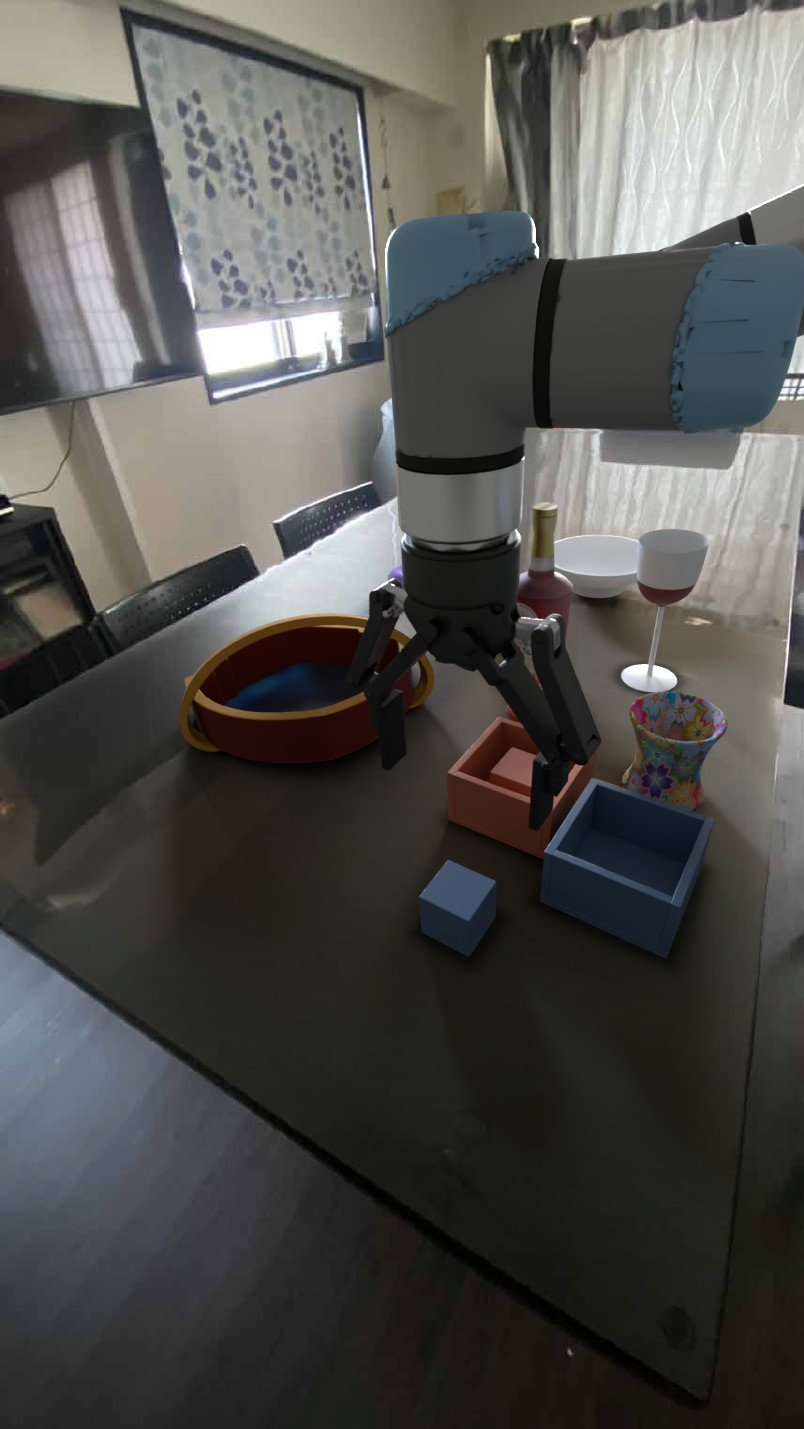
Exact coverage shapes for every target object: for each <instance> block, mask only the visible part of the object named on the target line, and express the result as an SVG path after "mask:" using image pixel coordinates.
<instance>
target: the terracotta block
mask: <svg viewBox="0 0 804 1429" xmlns="http://www.w3.org/2000/svg"><path fill="white" fill-rule="evenodd" d="M535 757H536V755H534V754H531V753H528V752H525V751H522V750H519V749H516V748H513V747H512V748H511V749H510V750H509V751H508V752H507V754H506V755H505V756H504V757H503V758H502V759H501V760H500V762H499V763H498V764H497V765H496V766H495V767H494V768H493V770H492V771H491V772H490V783H491V784H493V785H496V786H499V787H502V788H504V789H507V790H510V791H512V792H515V793H518V794H521V795H523V796H526V797H529V798H530V796H531V782H532V768H533V760H534V758H535Z"/></svg>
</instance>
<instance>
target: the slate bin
mask: <svg viewBox="0 0 804 1429" xmlns="http://www.w3.org/2000/svg"><path fill="white" fill-rule="evenodd" d="M715 822H716V818H713V817H711V816H709V815H705V814H702V813H699V812H696V811H694V810H692V811H690V810H687V809H684V808H681V807H678V806H675V805H672V804H669V803H666V802H663V801H660V800H657V799H654V798H651V797H648V796H645V795H642V794H639V793H636V792H633V791H630V790H627V789H624V788H623V787H621V786H619V785H615V784H612V783H609V782H606V781H603V780H600V779H597V778H595V777H592V779H591V780H590V782H589V784H588V785H587V787H586V788H585V790H584V791H583V793H582V794H581V796H580V797H579V799H578V801H577V802H576V804H575V805H574V807H573V808H572V810H571V811H570V813H569V814H568V816H567V818H566V819H565V821H564V822H563V824H562V825H561V827H560V828H559V830H558V831H557V833H556V835H555V836H554V838H553V839H552V841H551V842H550V844H549V845H548V847H547V848H546V850H545V851H544V859H543V861H542V862H543V864H542V875H541V887H540V898H539V902H540V903H542V904H544V905H546V906H549V907H550V908H552V909H555V910H557V911H560V912H561V913H563V914H566V915H569V916H571V917H573V918H575V919H577V920H579V921H582V922H584V923H586V924H587V925H591V926H593V927H595V928H597V929H600V930H601V931H604V932H606V933H608V934H611V935H612V936H614V937H617V938H619V939H622V940H623V941H626V942H628V943H630V944H632V945H635V946H636V947H639V948H641V949H643V950H646V951H648V952H650V953H652V954H654V955H657V956H659V957H661V958H663V959H668V955H669V952H670V950H671V948H672V945H673V942H674V940H675V937H676V935H677V932H678V929H679V927H680V925H681V922H682V919H683V917H684V914H685V911H686V909H687V906H688V904H689V901H690V899H691V897H692V893H693V891H694V888H695V885H696V883H697V880H698V878H699V875H700V873H701V870H702V868H703V863H704V860H705V857H706V853H707V849H708V846H709V843H710V839H711V836H712V832H713V829H714V826H715Z"/></svg>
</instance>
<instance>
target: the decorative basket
mask: <svg viewBox="0 0 804 1429" xmlns="http://www.w3.org/2000/svg"><path fill="white" fill-rule="evenodd" d="M368 618H369V617H365V616H361V615H354V614H348V613H347V614H346V613H334V612H333V613H312V614H303V615H295V616H291V617H285V618H281V619H278V620H273V621H271V622H268V623H265V624H263V625H260V626H257V627H255V628H252V629H250V630H248V631H246V632H244V633H242V634H240V635H238V636H236V637H234V638H233V639H231V640H229V641H228V642H227V643H225V644H223V645H222V646H220V647H219V648H218V649H217V650H215V651H214V652H213V653H212V654H211V655H210V656H208V657H207V658H206V659H205V660H204V661H203V663H201V664H200V666H199V667H198V668H197V670H196V671H195V672H194V674H191V675H189V676H188V677H185V678H184V679H183V680H184V685H185V691H184V693H183V696H182V698H181V703H180V708H179V718H178V719H179V720H178V722H179V729H180V732H181V734H182V736H183V738H184V739H185V741H186V742H187V743H188V744H189V745H191V746H192V747H193V748H195V749H197V750H200V751H204V752H221V751H222V752H224V753H227V754H230V755H233V756H236V757H239V758H240V759H241V758H242V759H245V760H249V761H255V762H261V763H262V762H263V763H274V764H275V763H276V764H298V763H299V764H301V763H314V762H315V763H316V762H322V761H331V760H336V759H337V758H340V757H344V756H347V755H348V754H351V753H353V752H355V751H357V750H360V749H362V748H363V747H366V746H367V745H369V744H371V743H373V742H374V741H376V740H377V739H378V740H379V737H378V731H377V730H375V729H373V726H372V724H371V716H370V707H369V700H368V699H366V697H365V695H364V692H363V691H362V690H361V689H359V688H358V687H357V688H356V689H351V688H350V687H349V686H348V685H347V683H346V676H347V673H348V671H349V668H350V666H351V663H352V660H353V658H354V655H355V652H356V650H357V647H358V645H359V642H360V639H361V637H362V634H363V631H364V629H365V626H366V624H367V621H368ZM410 640H411V637H409V636H408V635H406V634H405V633H404V632H402V631H400V630H399V629H397V628H396V627H395V628H394V630H393V632H392V635H391V637H390V639H389V642H388V644H387V646H386V649H385V651H384V653H383V656H382V658H381V660H380V663H379V665H378V667H377V670H376V673H377V674H380V673H381V672H382V671H383V670H384V669H385V668H386V667H387V665H388V664H389V663H390V662H391V661H392V660H393V659H394V658H395V657H396V656H397V655H398V654H399V653H400V652H401V649H402V648H403V647H404V646H405V645H406V644H407V643H408V642H409V641H410ZM417 663H418V666H419V674H420V675H419V679H418V682H417V684H416V686H415V687H414V684H413V683H414V681H413V670H412V668H413V667H412V668H411V669H410V670H409V671H408V672H407V673H406V674H405V675H404V676H403V677H402V678H401V679H400V680H399V681H398V683H396V684H395V685H394V686H393V687H392V688H390V693H391V692H392V691H393V690H394V689H396V690H399V691H402V694H403V708H404V716H405V715H406V713H407V712H408V710H409V709H413V708H416V707H418V706H420V705H421V704H423V703H424V702H425V701H426V700H427V699H428V698H429V696H430V695H431V693H432V691H433V689H434V685H435V672H434V669H433V666H432V664H431V661H430V659H429V658H428V656H427V655H426V654H425V655H424V656H423V657H422V658H421V659H420V660H419V661H418V662H417ZM191 708H192V713H193V715H194V720H195V722H196V726H197V728H198V729H196V728H195V726H194V725H193V724H192V721H191V719H190V715H189V714H190V710H191Z"/></svg>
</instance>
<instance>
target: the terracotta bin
mask: <svg viewBox="0 0 804 1429" xmlns="http://www.w3.org/2000/svg"><path fill="white" fill-rule="evenodd" d="M512 747H513V748H516V749H519V750H522V751H525V752H528V753H531V754H534V755H536V756H537V755H538V753H539V752H540V750H539V749H538V748H537V746H536V745H535V743H534V742H533V740H532V739H531V737H530V736H529V734H528V733H527V732H526V730H525V729H524V727H523V726H522V724H521V723H518V722H515V721H513V720H512V719H508V718H506V717H502V716H497V718H496V719H495V720H494V721H493V722H492V723H491V725H490V726H488V728H486V730H485V731H484V732H483V733H482V734H481V735H480V737H479V738H478V739H477V740H476V741H475V742H474V743H473V744H472V745H471V747H470V748H468V749H467V751H465V753H464V754H463V755H461V757H460V758H459V759H458V760H457V761H456V762H455V764H454V765H453V766H452V767H451V768H450V769H449V770H448V771H447V773H446V774H447V775H446V776H447V803H448V804H447V805H448V806H447V807H448V821H450V822H452V823H455V824H457V825H460V826H462V827H465V828H467V829H469V830H471V831H474V832H477V833H479V834H481V835H484V836H485V837H489V838H491V839H494V840H496V841H499V842H501V843H503V844H505V845H507V846H510V847H513V848H515V849H518V850H520V851H523V852H524V853H527V854H530V855H532V856H534V857H537V858H539V859H542V860H544V851H545V850H546V848H547V847H548V845H549V844H550V842H551V841H552V839H553V838H554V836H555V835H556V833H557V831H558V830H559V828H560V827H561V825H562V824H563V822H564V821H565V819H566V818H567V816H568V814H569V813H570V811H571V810H572V808H573V807H574V805H575V804H576V802H577V801H578V799H579V797H580V796H581V794H582V793H583V791H584V790H585V788H586V787H587V785H588V784H589V782H590V780H591V779H592V778H594V770H595V769H594V768H595V761H596V753H597V750H596V751H595V753H594V754H593V755H592V757H591V758H590V760H589V761H588V763H587V764H586V765H583V766H579V765H577V764H575V763H574V762H573V761H570V769H569V778H568V782H567V784H566V785H565V786H564V788H563V789H562V791H561V792H560V794H559V795H558V796H557V797H556V796H554V802H553V810H552V812H551V813H550V814H549V816H548V817H547V819H546V820H545V822H544V823H543V825H542V826H541V827H540V829H539V830H538V832H537V831H535V830H532V829H530V828H528V824H529V810H530V798H529V797H526V796H523V795H521V794H518V793H515V792H512V791H510V790H507V789H504V788H502V787H499V786H496V785H493V784H491V783H490V772H491V771H492V770H493V768H494V767H495V766H496V765H497V764H498V763H499V762H500V760H501V759H502V758H503V757H504V756H505V755H506V754H507V752H508V751H509V750H510V749H511V748H512Z"/></svg>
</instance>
